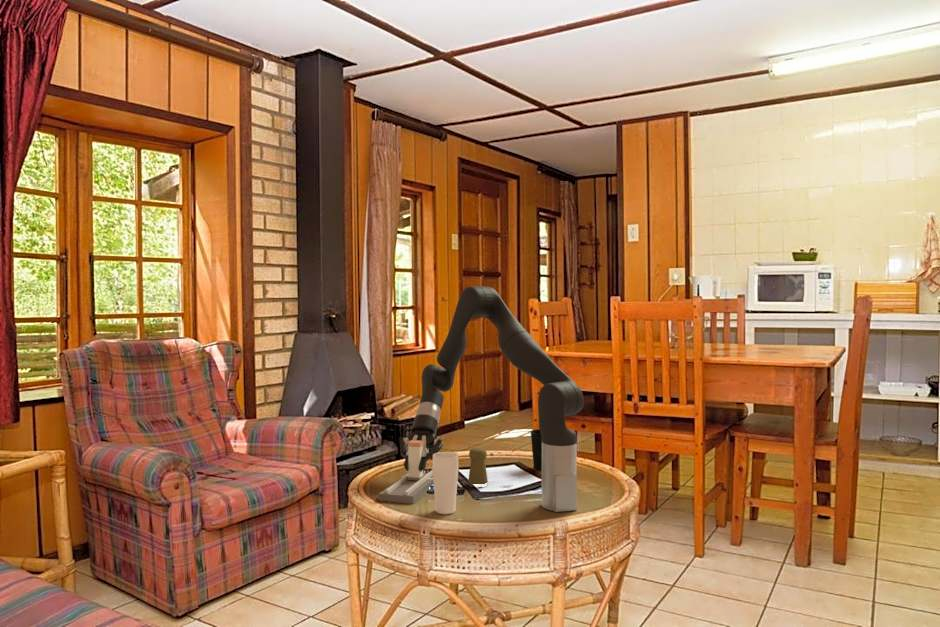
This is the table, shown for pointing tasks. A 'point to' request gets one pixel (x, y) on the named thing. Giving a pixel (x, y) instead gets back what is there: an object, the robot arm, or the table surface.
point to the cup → (537, 449)
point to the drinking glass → (445, 481)
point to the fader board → (407, 489)
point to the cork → (478, 466)
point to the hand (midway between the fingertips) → (413, 469)
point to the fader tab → (415, 459)
